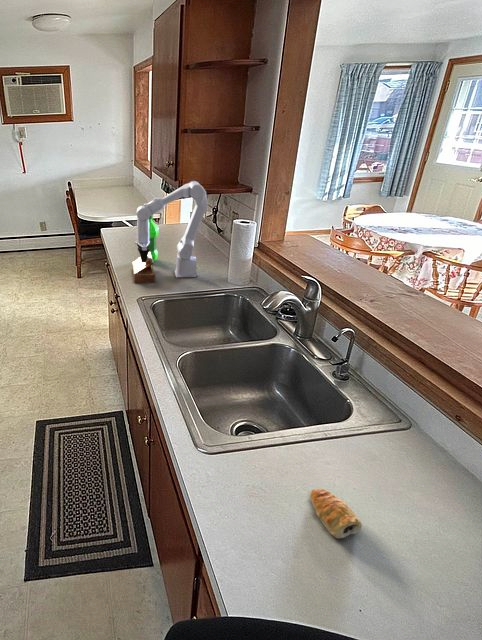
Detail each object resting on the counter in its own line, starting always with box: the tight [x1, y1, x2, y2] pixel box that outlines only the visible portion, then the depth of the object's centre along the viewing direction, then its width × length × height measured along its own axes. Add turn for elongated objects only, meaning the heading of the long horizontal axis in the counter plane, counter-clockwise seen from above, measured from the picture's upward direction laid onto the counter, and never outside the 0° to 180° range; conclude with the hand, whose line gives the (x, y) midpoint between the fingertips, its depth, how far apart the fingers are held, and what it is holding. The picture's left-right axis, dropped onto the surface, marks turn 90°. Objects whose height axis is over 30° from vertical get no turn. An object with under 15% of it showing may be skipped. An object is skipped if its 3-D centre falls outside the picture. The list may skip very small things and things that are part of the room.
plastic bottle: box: [147, 215, 160, 262], centre depth 203 cm, size 10×10×25 cm
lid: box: [132, 251, 154, 276], centre depth 186 cm, size 10×16×5 cm
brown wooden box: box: [132, 264, 156, 284], centre depth 189 cm, size 10×16×4 cm, turn 0°
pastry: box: [309, 488, 362, 540], centre depth 77 cm, size 9×7×4 cm
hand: (143, 259), depth 187 cm, fingers closed on lid, 5 cm apart
